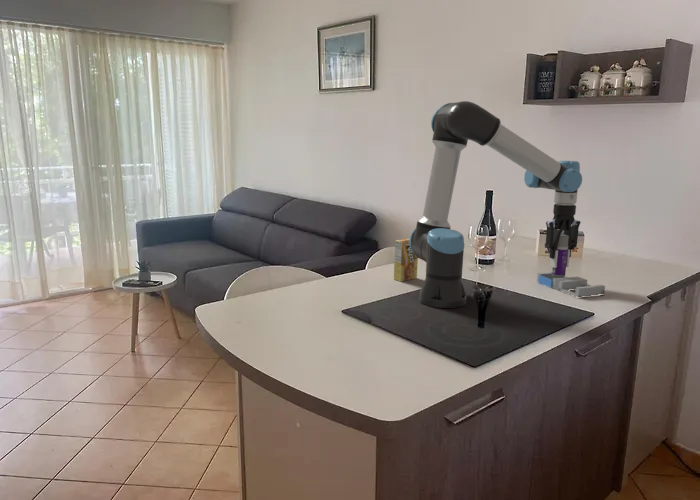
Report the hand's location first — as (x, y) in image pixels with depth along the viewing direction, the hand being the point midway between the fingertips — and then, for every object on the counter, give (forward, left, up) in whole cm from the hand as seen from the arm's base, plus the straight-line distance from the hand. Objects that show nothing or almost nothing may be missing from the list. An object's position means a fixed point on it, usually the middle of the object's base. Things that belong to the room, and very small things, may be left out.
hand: (559, 266), depth 198 cm
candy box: (-52, +22, -7) cm, 57 cm away
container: (0, 0, -4) cm, 4 cm away
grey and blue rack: (0, -6, -7) cm, 9 cm away
